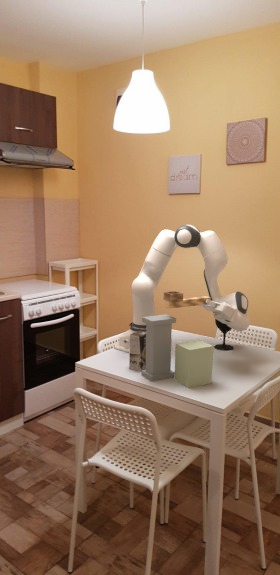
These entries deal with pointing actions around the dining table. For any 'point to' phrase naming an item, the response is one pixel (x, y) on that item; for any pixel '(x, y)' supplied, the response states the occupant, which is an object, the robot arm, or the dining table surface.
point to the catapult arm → (182, 300)
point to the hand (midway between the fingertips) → (202, 299)
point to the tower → (158, 347)
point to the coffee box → (137, 350)
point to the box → (193, 363)
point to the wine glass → (224, 329)
